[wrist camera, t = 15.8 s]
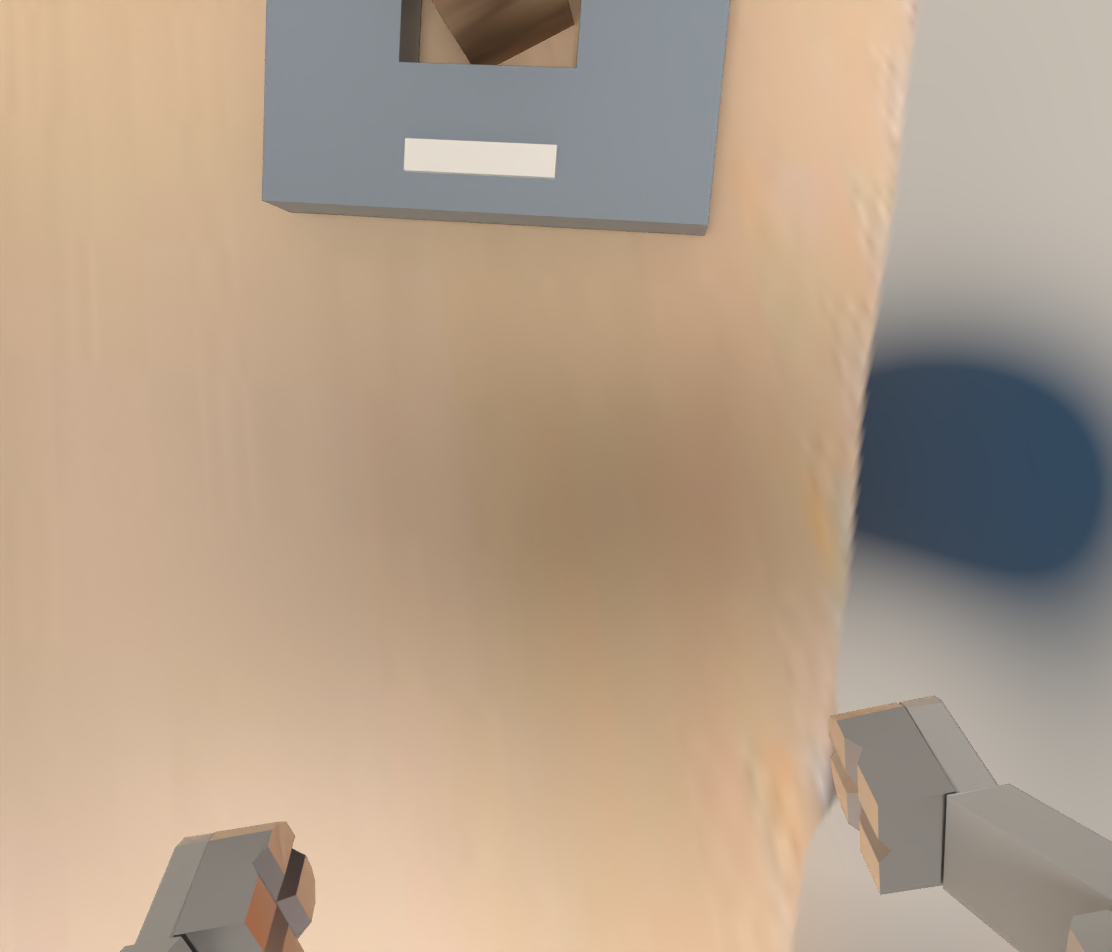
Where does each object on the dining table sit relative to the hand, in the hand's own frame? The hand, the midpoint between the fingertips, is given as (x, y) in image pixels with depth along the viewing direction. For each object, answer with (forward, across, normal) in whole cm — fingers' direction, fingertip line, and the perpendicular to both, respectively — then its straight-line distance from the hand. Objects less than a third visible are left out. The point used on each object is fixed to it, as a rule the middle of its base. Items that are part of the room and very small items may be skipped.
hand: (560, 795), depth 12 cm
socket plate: (+30, -2, -11) cm, 32 cm away
